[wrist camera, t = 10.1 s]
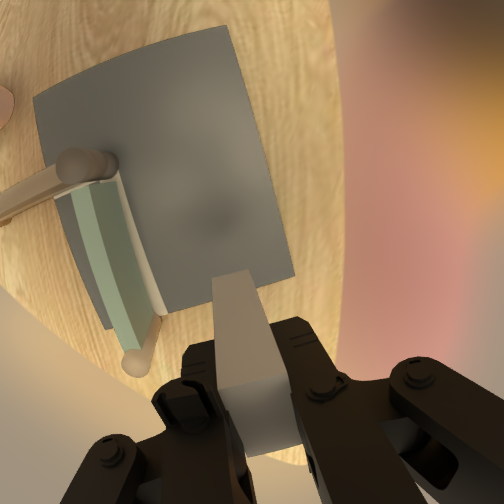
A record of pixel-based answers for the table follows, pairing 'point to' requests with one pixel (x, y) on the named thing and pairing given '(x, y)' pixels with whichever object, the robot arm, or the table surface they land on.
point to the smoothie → (5, 106)
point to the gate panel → (117, 274)
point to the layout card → (173, 166)
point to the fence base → (57, 179)
